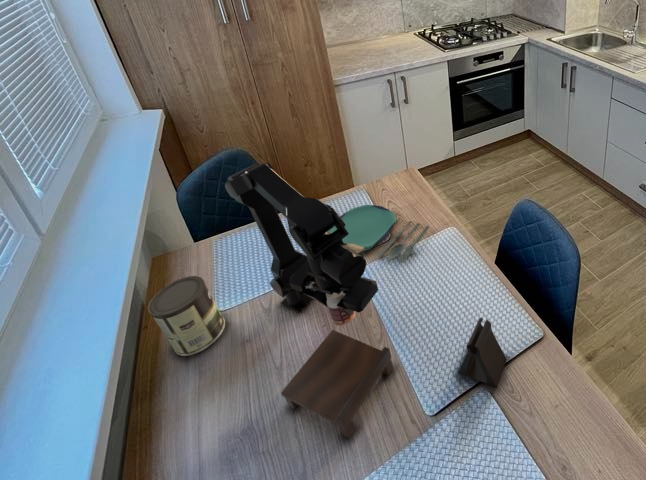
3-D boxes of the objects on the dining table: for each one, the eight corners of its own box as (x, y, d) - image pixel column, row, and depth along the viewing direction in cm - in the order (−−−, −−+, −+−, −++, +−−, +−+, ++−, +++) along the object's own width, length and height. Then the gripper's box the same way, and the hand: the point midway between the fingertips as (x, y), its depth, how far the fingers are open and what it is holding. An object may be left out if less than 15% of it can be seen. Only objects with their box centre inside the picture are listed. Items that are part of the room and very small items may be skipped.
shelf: (287, 407, 82) (277, 387, 79) (337, 343, 94) (330, 323, 91) (349, 440, 77) (341, 420, 73) (394, 368, 88) (389, 348, 85)
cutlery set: (359, 203, 138) (358, 198, 137) (434, 226, 127) (433, 220, 126) (313, 245, 121) (311, 239, 120) (395, 275, 110) (393, 269, 109)
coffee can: (209, 309, 103) (187, 269, 97) (234, 324, 99) (214, 284, 93) (163, 345, 95) (137, 305, 88) (190, 364, 91) (164, 323, 84)
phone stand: (506, 360, 89) (504, 325, 84) (496, 388, 84) (493, 352, 79) (469, 347, 92) (465, 312, 87) (457, 373, 87) (452, 338, 82)
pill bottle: (348, 328, 87) (339, 301, 84) (328, 325, 88) (319, 298, 84) (359, 308, 91) (351, 282, 88) (340, 305, 92) (332, 279, 89)
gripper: (387, 241, 86) (399, 292, 92) (319, 222, 92) (335, 271, 99) (351, 284, 76) (367, 337, 83) (278, 259, 83) (298, 310, 89)
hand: (342, 311), depth 89 cm, fingers closed on pill bottle, 5 cm apart
